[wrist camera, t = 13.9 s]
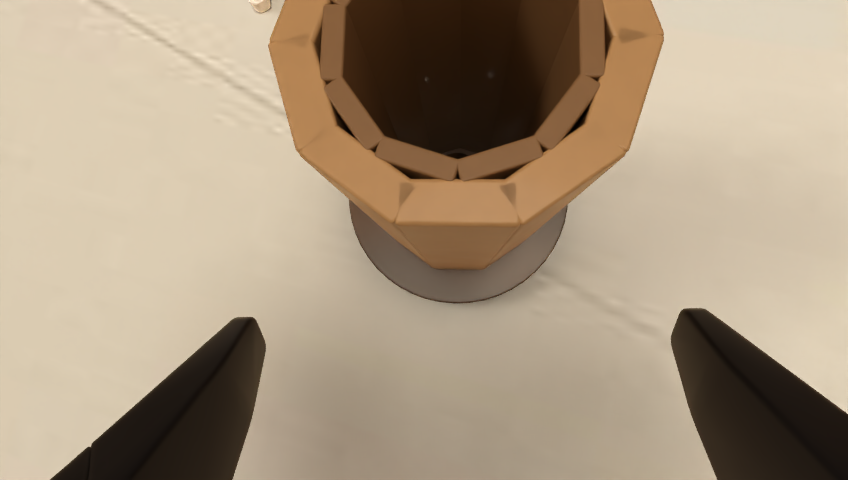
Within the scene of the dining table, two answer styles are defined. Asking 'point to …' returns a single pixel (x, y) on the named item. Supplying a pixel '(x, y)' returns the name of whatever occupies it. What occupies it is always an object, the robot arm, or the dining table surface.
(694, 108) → the dining table surface
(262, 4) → the white anchor emblem
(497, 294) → the brown peg stand
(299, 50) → the tan hollow tube
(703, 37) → the dining table surface
